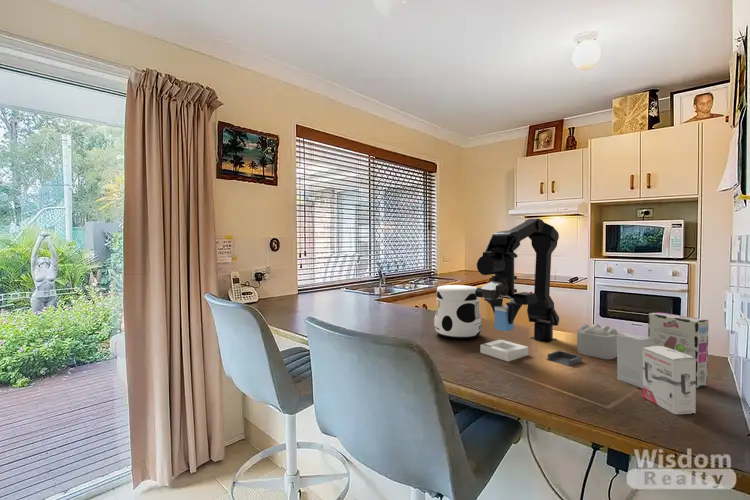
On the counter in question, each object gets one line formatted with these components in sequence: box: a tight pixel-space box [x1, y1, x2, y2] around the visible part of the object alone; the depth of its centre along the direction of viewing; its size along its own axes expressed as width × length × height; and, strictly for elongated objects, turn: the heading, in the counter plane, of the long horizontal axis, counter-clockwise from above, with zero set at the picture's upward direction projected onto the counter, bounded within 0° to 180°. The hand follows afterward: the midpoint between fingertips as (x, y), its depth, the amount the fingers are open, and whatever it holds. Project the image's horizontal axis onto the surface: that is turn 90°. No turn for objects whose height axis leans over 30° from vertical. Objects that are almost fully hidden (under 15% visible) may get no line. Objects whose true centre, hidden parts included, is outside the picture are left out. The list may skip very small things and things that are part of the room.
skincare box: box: [616, 332, 651, 390], centre depth 89 cm, size 6×4×12 cm
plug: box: [494, 304, 515, 333], centre depth 111 cm, size 4×4×7 cm
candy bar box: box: [647, 311, 709, 389], centre depth 92 cm, size 11×5×16 cm, turn 22°
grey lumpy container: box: [576, 323, 620, 360], centre depth 113 cm, size 10×13×9 cm
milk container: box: [433, 284, 483, 340], centre depth 134 cm, size 17×17×18 cm
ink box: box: [642, 346, 697, 415], centre depth 78 cm, size 9×5×12 cm, turn 5°
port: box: [479, 338, 529, 362], centre depth 112 cm, size 10×10×3 cm
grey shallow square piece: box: [546, 350, 583, 367], centre depth 105 cm, size 7×7×2 cm
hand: (504, 322), depth 111 cm, fingers closed on plug, 4 cm apart
